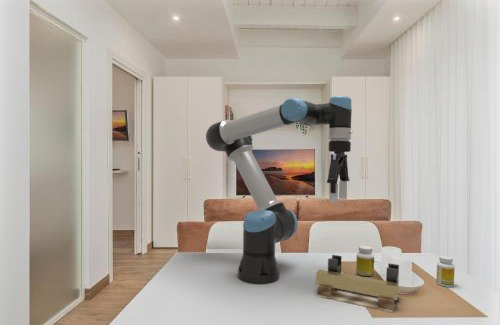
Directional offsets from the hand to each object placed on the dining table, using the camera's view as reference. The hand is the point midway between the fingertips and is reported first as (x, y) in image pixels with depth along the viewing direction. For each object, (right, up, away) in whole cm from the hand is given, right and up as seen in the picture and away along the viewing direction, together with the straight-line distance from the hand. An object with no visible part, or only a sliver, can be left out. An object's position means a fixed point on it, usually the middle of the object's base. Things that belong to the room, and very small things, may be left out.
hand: (338, 200), depth 121 cm
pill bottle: (+11, -29, +5) cm, 32 cm away
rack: (+5, -29, -10) cm, 31 cm away
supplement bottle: (+37, -30, -1) cm, 48 cm away
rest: (+1, -29, -15) cm, 33 cm away
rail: (+1, -26, -15) cm, 30 cm away
